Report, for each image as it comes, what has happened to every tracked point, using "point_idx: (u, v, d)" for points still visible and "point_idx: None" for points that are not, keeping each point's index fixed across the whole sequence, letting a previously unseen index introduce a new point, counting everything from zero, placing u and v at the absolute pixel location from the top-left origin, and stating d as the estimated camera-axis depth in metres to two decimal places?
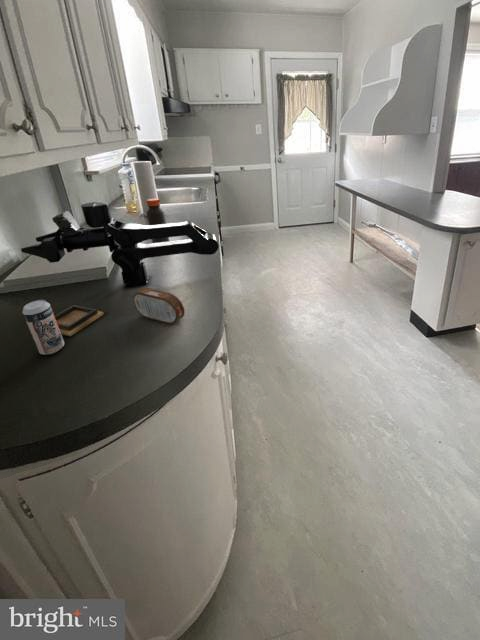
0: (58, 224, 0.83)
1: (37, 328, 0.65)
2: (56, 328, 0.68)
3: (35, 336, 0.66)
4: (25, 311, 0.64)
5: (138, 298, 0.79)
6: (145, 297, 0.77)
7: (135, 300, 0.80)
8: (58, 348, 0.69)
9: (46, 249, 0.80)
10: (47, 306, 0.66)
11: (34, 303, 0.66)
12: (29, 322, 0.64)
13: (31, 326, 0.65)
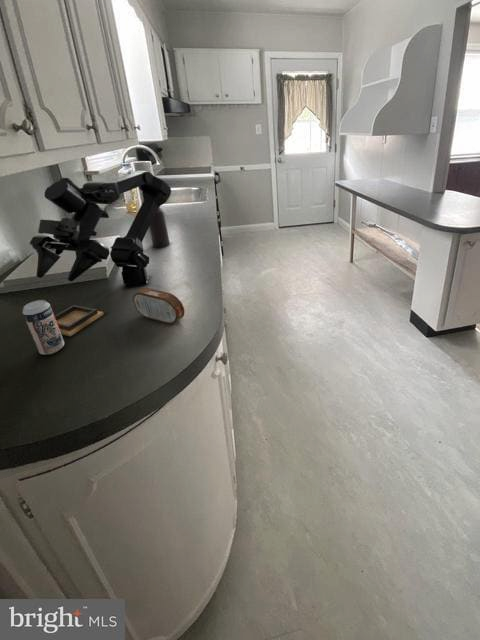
0: (68, 229, 0.70)
1: (37, 328, 0.65)
2: (56, 328, 0.68)
3: (35, 336, 0.66)
4: (25, 311, 0.64)
5: (138, 298, 0.79)
6: (145, 297, 0.77)
7: (135, 300, 0.80)
8: (58, 348, 0.69)
9: (97, 251, 0.73)
10: (47, 306, 0.66)
11: (34, 303, 0.66)
12: (29, 322, 0.64)
13: (31, 326, 0.65)
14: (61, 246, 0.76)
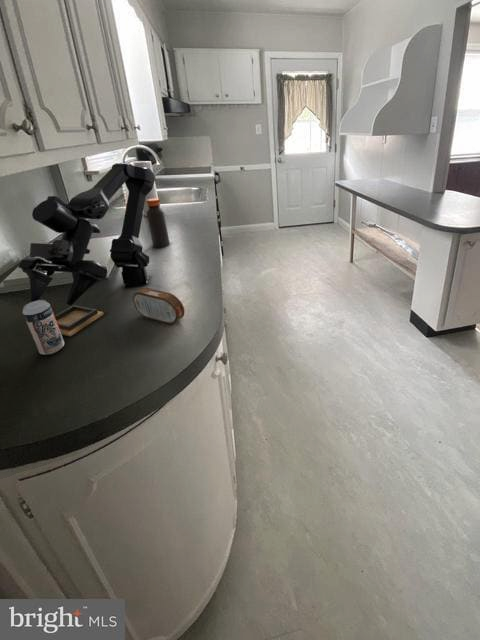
0: (62, 252, 0.67)
1: (37, 328, 0.65)
2: (56, 328, 0.68)
3: (35, 336, 0.66)
4: (25, 311, 0.64)
5: (138, 298, 0.79)
6: (145, 297, 0.77)
7: (135, 300, 0.80)
8: (58, 348, 0.69)
9: (95, 272, 0.70)
10: (47, 306, 0.66)
11: (34, 303, 0.66)
12: (29, 322, 0.64)
13: (31, 326, 0.65)
14: (54, 268, 0.72)
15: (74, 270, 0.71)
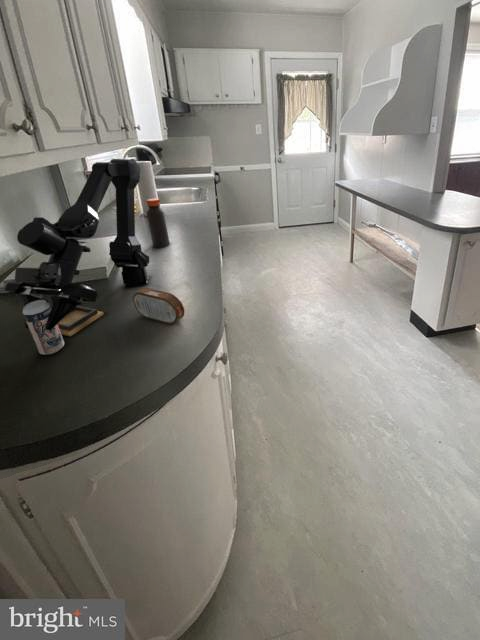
0: (49, 276, 0.64)
1: (37, 328, 0.65)
2: (56, 328, 0.68)
3: (35, 336, 0.66)
4: (25, 311, 0.64)
5: (138, 298, 0.79)
6: (145, 297, 0.77)
7: (135, 300, 0.80)
8: (58, 348, 0.69)
9: (84, 296, 0.67)
10: (47, 306, 0.66)
11: (34, 303, 0.66)
12: (29, 322, 0.64)
13: (31, 326, 0.65)
14: (49, 291, 0.69)
15: None
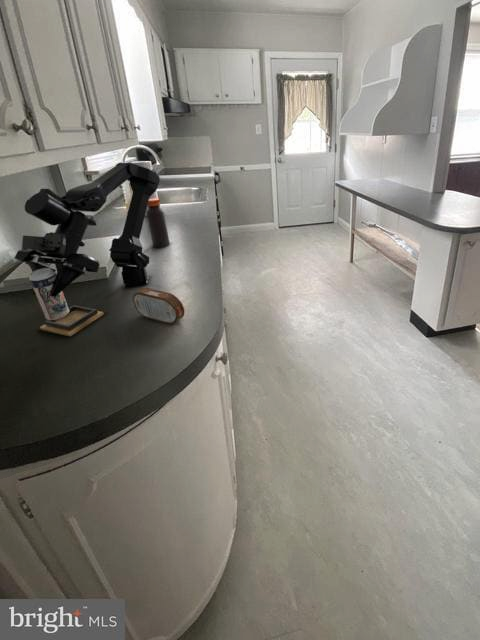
0: (53, 245, 0.67)
1: (42, 294, 0.69)
2: (61, 295, 0.72)
3: (41, 301, 0.69)
4: (31, 277, 0.67)
5: (138, 298, 0.79)
6: (145, 297, 0.77)
7: (135, 300, 0.80)
8: (63, 315, 0.72)
9: (86, 265, 0.70)
10: (52, 274, 0.69)
11: (40, 270, 0.69)
12: (35, 288, 0.68)
13: (37, 292, 0.68)
14: (55, 260, 0.72)
15: (67, 263, 0.71)
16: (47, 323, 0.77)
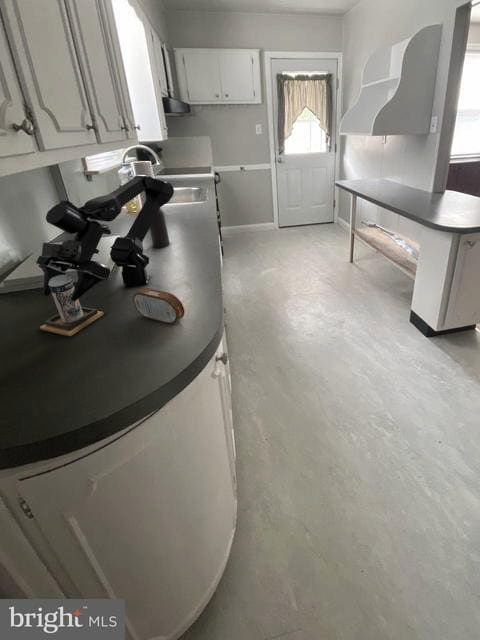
0: (69, 252, 0.72)
1: (59, 299, 0.75)
2: (76, 300, 0.78)
3: (58, 305, 0.76)
4: (50, 283, 0.74)
5: (138, 298, 0.79)
6: (145, 297, 0.77)
7: (135, 300, 0.80)
8: (77, 318, 0.78)
9: (98, 272, 0.75)
10: (68, 281, 0.75)
11: (59, 277, 0.76)
12: (53, 293, 0.74)
13: (55, 296, 0.75)
14: (65, 265, 0.79)
15: (81, 269, 0.77)
16: (47, 323, 0.77)
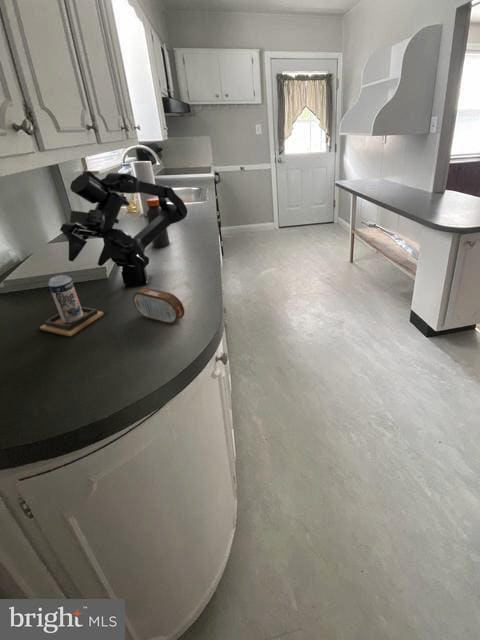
0: (96, 220, 0.78)
1: (59, 299, 0.75)
2: (76, 300, 0.78)
3: (58, 305, 0.76)
4: (50, 283, 0.74)
5: (138, 298, 0.79)
6: (145, 297, 0.77)
7: (135, 300, 0.80)
8: (77, 318, 0.78)
9: (122, 239, 0.81)
10: (68, 281, 0.75)
11: (59, 277, 0.76)
12: (53, 293, 0.74)
13: (55, 296, 0.75)
14: (88, 233, 0.84)
15: (105, 236, 0.83)
16: (47, 323, 0.77)
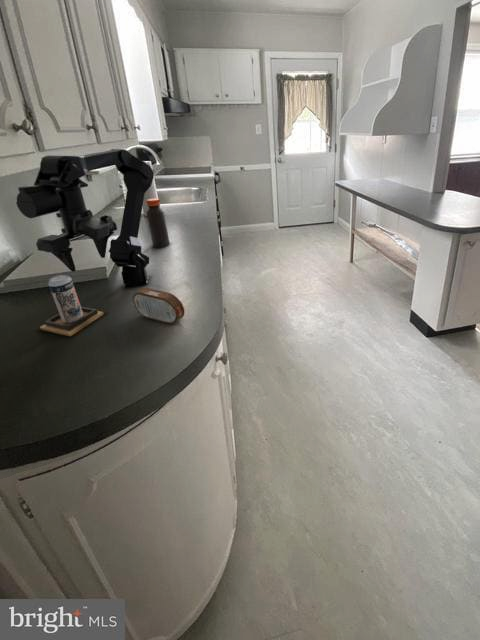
0: None
1: (59, 299, 0.75)
2: (76, 300, 0.78)
3: (58, 305, 0.76)
4: (50, 283, 0.74)
5: (138, 298, 0.79)
6: (145, 297, 0.77)
7: (135, 300, 0.80)
8: (77, 318, 0.78)
9: None
10: (68, 281, 0.75)
11: (59, 277, 0.76)
12: (53, 293, 0.74)
13: (55, 296, 0.75)
14: None
15: None
16: (47, 323, 0.77)
